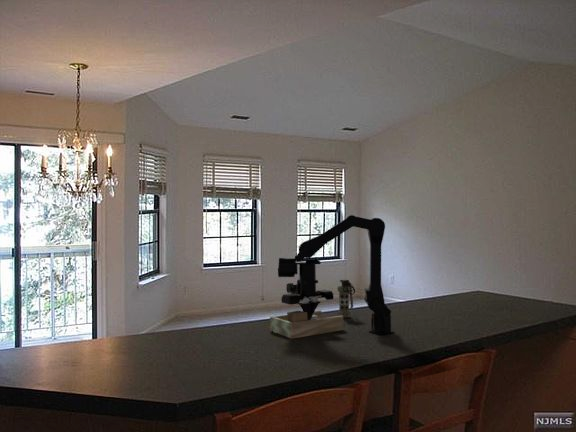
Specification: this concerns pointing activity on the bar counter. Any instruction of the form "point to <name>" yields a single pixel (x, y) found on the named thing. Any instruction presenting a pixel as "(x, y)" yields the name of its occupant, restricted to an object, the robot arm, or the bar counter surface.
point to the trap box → (305, 325)
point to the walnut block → (296, 316)
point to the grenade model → (345, 298)
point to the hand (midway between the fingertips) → (308, 321)
